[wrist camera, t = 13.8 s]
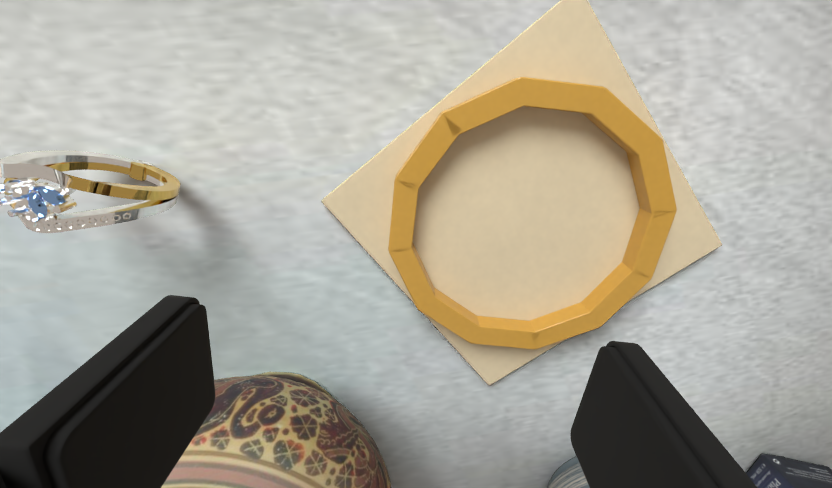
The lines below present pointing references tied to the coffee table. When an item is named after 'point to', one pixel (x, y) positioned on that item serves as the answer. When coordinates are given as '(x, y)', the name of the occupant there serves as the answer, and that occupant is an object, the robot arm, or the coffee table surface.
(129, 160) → the ring
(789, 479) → the small box
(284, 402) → the ceramic bowl
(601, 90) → the ring
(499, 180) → the mat
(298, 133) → the coffee table surface
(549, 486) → the vase
